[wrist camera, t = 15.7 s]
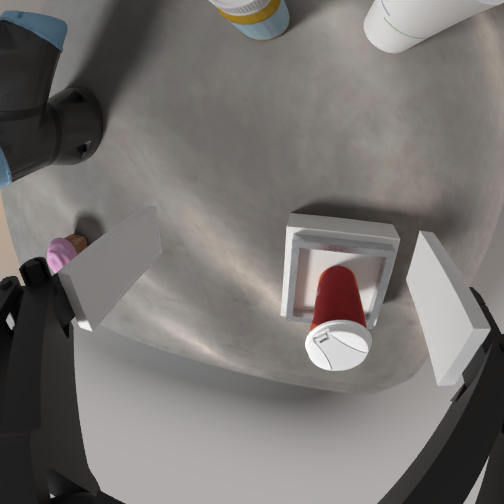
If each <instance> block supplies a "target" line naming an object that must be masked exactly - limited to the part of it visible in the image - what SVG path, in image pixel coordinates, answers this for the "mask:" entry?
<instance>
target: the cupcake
mask: <svg viewBox="0 0 504 504" xmlns="http://www.w3.org/2000/svg"><path fill="white" fill-rule="evenodd" d="M87 247H88V246H87V240H86V238H85V237H84V236H80V235H75V234H71V235H69V236H67V237H66V238H56V239H54V240H53V241H51V243H50V244H49V247H48V252H47V261H48V264H49V266H50V267H51V269H52V270H53V271H54V273H55V274H56V273H57V272H58V271H59V270H60V269H61V268H63V267H64V266H65V265H66V264H67V263H68V262H70V261H71V260H72V259H73V258H75V257H76V256H77V255H78V254H79V253H81V252H82V251H83V250H84V249H86V248H87Z"/></svg>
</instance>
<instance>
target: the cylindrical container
mask: <svg viewBox="0 0 504 504" xmlns="http://www.w3.org/2000/svg"><path fill="white" fill-rule="evenodd" d="M502 3H504V0H375V1H374V3H373V5H372V7H371V8H370V10H369V12H368V14H367V16H366V18H365V20H364V31H365V34H366V36H367V38H368V39H369V40H370V42H371V43H372V44H373V45H375V46H376V47H377V48H379V49H381V50H383V51H385V52H389V53H400V52H403V51H405V50H407V49H409V48H411V47H412V46H414V45H416V44H418V43H420V42H422V41H423V40H425V39H427V38H429V37H431V36H433V35H435V34H437V33H439V32H441V31H443V30H444V29H446V28H448V27H450V26H453V25H455V24H457V23H459V22H461V21H463V20H465V19H467V18H469V17H472V16H474V15H476V14H478V13H480V12H483V11H485V10H487V9H490V8H492V7H495V6H497V5H500V4H502Z"/></svg>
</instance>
